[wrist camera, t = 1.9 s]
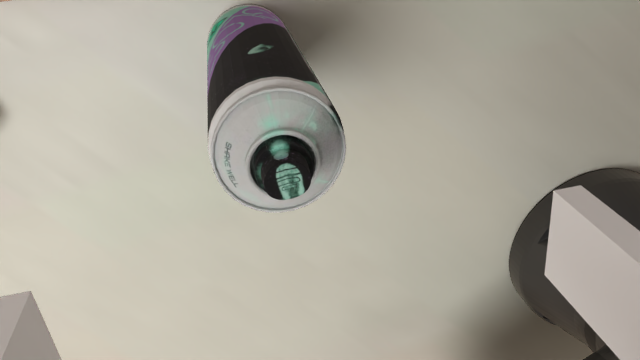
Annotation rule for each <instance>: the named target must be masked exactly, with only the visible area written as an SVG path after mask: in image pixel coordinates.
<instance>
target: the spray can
mask: <svg viewBox="0 0 640 360" xmlns="http://www.w3.org/2000/svg"><path fill="white" fill-rule="evenodd" d="M207 80H208V153H209V158H210V162H211V165H212V167H213V171H214V173H215V175H216V178H217V180H218V182H219V183H220V185H221V186H222V187H223V189H224V190H225V191H226V192H227V193H228V194H229V195H230V196H231V197H232V198H233V199H234V200H236V201H238V202H239V203H241V204H243V205H244V206H247V207H249V208H252V209H255V210H259V211H264V212H286V211H292V210H296V209H299V208H302V207H304V206H307V205H308V204H310V203H312V202H314V201H316V200H317V199H318V198H320V197H321V196H322V195H323V194H325V193H326V192H327V191H328V190H329V188H330V187H331V186H332V185H333V184H334V182H335V181H336V179H337V177H338V176H339V174H340V172H341V169H342V166H343V163H344V160H345V152H346V144H345V136H344V132H343V127H342V123H341V120H340V117H339V115H338V113H337V111H336V110H335V108H334V106H333V104H332V103H331V101H330V99H329V98H328V96H327V94H326V93H325V91H324V89H323V88H322V86H321V84H320V83H319V81H318V79H317V78H316V76H315V74H314V73H313V71H312V69H311V68H310V66H309V65H308V63H307V61H306V60H305V58H304V56H303V55H302V53H301V51H300V50H299V48H298V46H297V45H296V43H295V41H294V40H293V38H292V36H291V35H290V33H289V31H288V30H287V28H286V26H285V25H284V23H283V22H282V21H281V20H280V19H279V17H278V16H276V15H275V14H274V13H273V12H271V11H270V10H268V9H266V8H264V7H261V6H257V5H250V4H246V5H239V6H236V7H233V8H230V9H229V10H227V11H225V12H224V13H223V14H221V15H220V16H219V17H218V18H217V20H216V21H215V22H214V24H213V26H212V28H211V30H210V33H209V37H208V41H207Z"/></svg>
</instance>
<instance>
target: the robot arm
mask: <svg viewBox="0 0 640 360" xmlns="http://www.w3.org/2000/svg"><path fill="white" fill-rule="evenodd" d="M509 271H510V277H511V280H512V283H513V285H514V287H515V289H516V291H517V292H518V294H519V295H520V296H521V297H522V299H523V300H524V301H525V302H526V304H527V305H528V306H529V307H530V309H531V310H532V311H533V312H535V313H536V314H537V315H538V316H539V317H541V318H542V319H544V320H546V321H548V322H550V323H552V324H554V325H557V326H559V327H560V328H562V329H563V330H565V331H566V332H568V333H569V334H571V335H573V336H574V337H576V338H577V339H579V340H580V341H582V342H583V343H585V344H586V345H588V346H589V347H590V349H591V350H592V351H593V352H594V353H593V354H591V355H590V356H588V357H586V358H585V359H583V360H640V173H637V172H634V171H630V170H625V169H604V170H598V171H594V172H590V173H587V174H584V175H581V176H579V177H576V178H574V179H572V180H570V181H568V182H566V183H565V184H563V185H561V186H560V187H558V188H557V189H555V190H554V191H552V192H551V193H550V194H549V195H547V196H546V197H545V198H544V199H543V200H542V201H540V202H539V203H538V204H537V206H536V207H535V208H534V209H533V210H532V211H531V212H530V214H529V215H528V216H527V217H526V219H525V220H524V222H523V223H522V225H521V227H520V228H519V230H518V232H517V234H516V237H515V239H514V242H513V244H512V248H511V252H510V259H509ZM0 360H61V357H60V355H59V353H58V351H57V348H56V346H55V344H54V342H53V340H52V337H51V335H50V333H49V331H48V328H47V326H46V324H45V322H44V319H43V317H42V315H41V313H40V310H39V308H38V306H37V304H36V301H35V299H34V297H33V295H32V292H31V291H28V292H23V293H17V294H12V295H7V296H2V297H0Z"/></svg>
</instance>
